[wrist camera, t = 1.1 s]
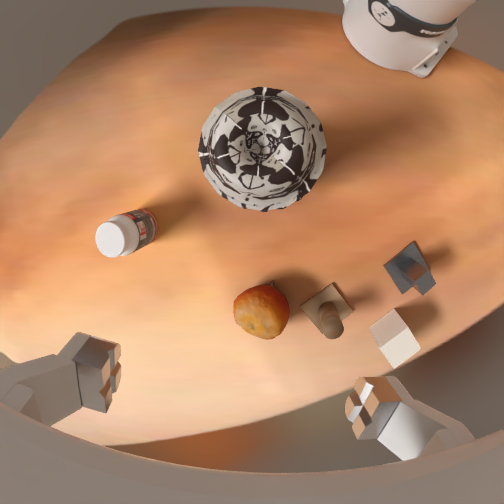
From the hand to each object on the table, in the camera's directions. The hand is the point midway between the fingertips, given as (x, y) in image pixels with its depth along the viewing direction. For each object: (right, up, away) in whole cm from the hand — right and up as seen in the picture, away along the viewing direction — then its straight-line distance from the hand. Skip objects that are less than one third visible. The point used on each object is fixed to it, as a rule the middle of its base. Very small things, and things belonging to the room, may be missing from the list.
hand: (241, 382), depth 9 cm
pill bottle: (-17, +8, +36) cm, 40 cm away
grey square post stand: (+24, +2, +33) cm, 41 cm away
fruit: (+2, -3, +37) cm, 37 cm away
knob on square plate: (+12, -5, +36) cm, 38 cm away
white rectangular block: (+23, -8, +36) cm, 43 cm away
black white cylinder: (+3, +16, +32) cm, 36 cm away
